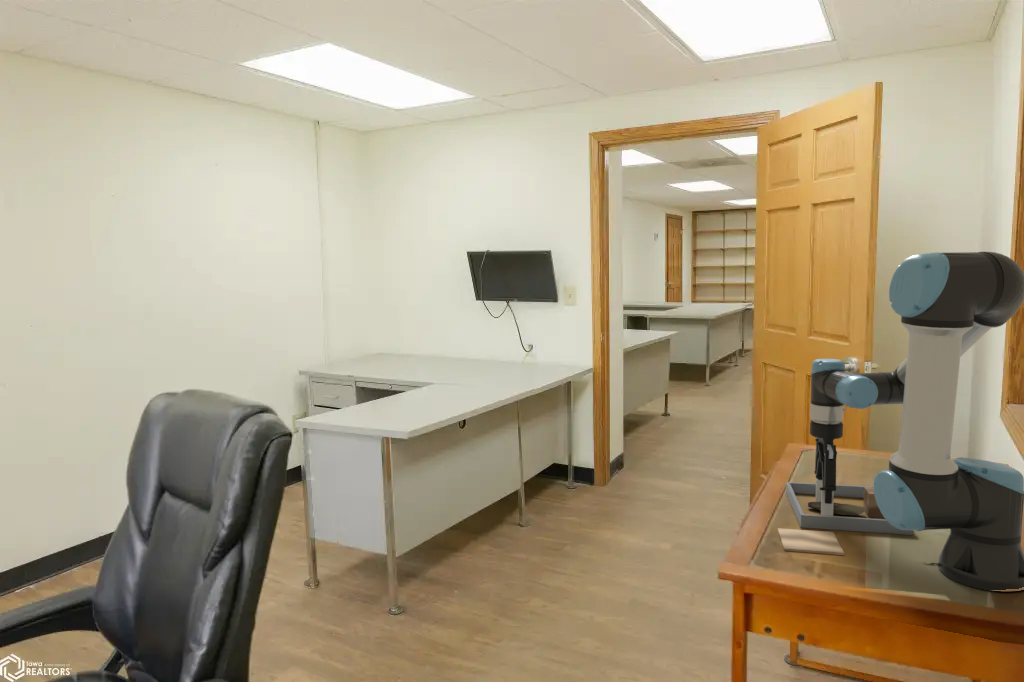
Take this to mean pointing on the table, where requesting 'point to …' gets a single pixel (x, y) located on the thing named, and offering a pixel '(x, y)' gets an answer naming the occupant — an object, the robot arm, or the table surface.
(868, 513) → the walnut block
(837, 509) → the stone
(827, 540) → the cork pad
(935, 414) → the robot arm
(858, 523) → the parts tray
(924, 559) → the table surface
